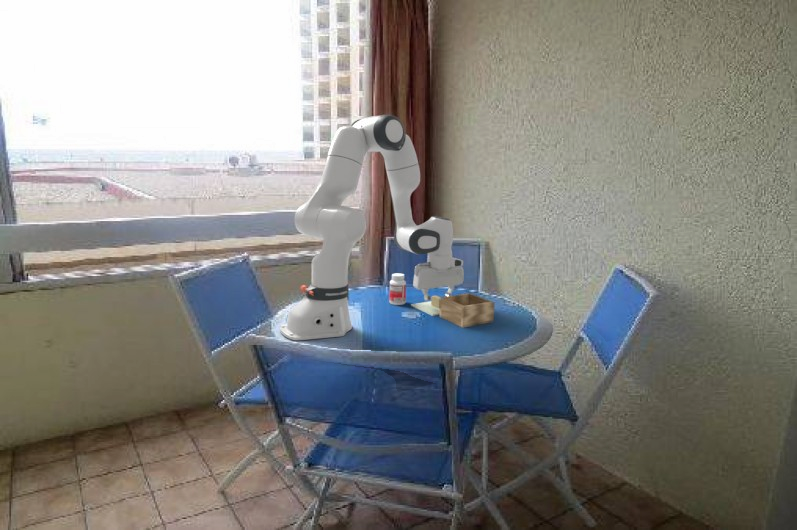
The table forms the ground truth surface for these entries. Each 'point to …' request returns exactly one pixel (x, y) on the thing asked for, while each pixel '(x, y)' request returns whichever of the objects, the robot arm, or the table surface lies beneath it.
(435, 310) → the lid
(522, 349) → the table surface
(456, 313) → the box
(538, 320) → the table surface
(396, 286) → the pill bottle
